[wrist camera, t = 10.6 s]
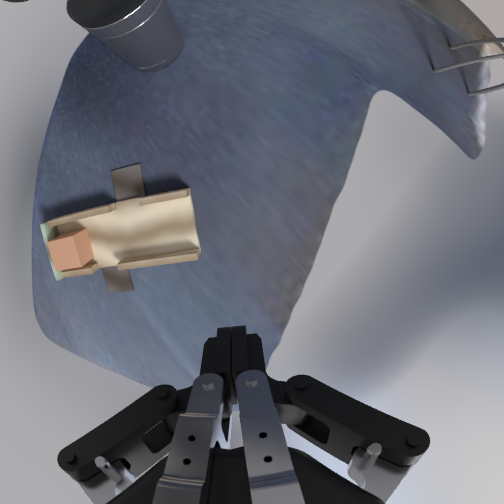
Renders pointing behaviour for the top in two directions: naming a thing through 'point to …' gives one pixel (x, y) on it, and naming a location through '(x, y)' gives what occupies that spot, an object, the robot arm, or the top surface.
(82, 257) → the block
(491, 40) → the citrus juicer
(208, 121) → the top surface
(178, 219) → the box
